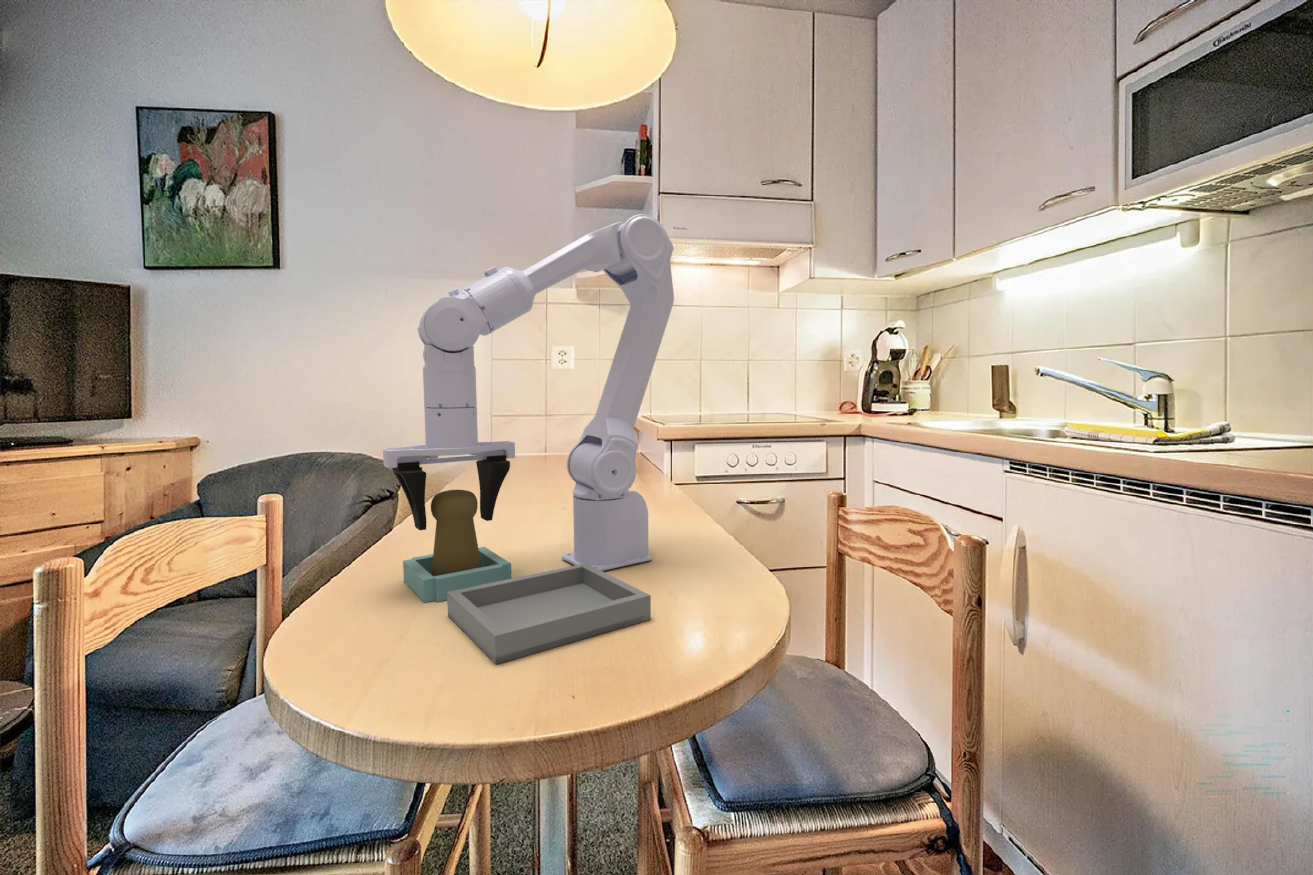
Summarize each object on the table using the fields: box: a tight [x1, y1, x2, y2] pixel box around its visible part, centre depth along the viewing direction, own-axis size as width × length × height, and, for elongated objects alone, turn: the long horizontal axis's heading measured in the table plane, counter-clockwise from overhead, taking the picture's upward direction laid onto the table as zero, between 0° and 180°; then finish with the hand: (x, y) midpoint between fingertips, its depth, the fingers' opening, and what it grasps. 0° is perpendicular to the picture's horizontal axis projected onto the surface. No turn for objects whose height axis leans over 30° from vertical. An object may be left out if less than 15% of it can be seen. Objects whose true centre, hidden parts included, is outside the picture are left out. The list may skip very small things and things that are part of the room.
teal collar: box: [402, 546, 512, 604], centre depth 71 cm, size 10×10×2 cm
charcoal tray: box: [446, 563, 652, 665], centre depth 60 cm, size 16×13×2 cm
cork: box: [430, 489, 481, 577], centre depth 70 cm, size 6×6×11 cm
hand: (454, 523), depth 70 cm, fingers open, 7 cm apart
